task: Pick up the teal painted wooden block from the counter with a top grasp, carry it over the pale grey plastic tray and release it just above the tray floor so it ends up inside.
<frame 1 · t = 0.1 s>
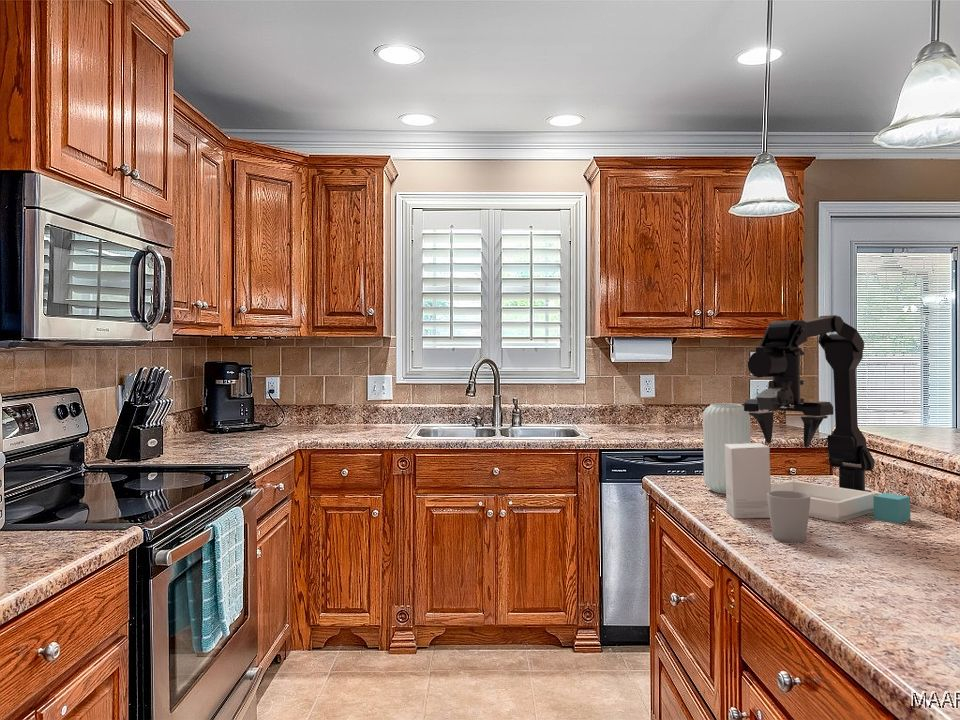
hand: (787, 444, 154), 15 cm above the worktop, tool pointing down, fingers open, 9 cm apart
skincare box: (748, 516, 150), on the worktop
grey tray: (813, 508, 155), on the worktop
cup: (789, 538, 132), on the worktop
teal block: (891, 519, 144), on the worktop
vase: (727, 491, 176), on the worktop
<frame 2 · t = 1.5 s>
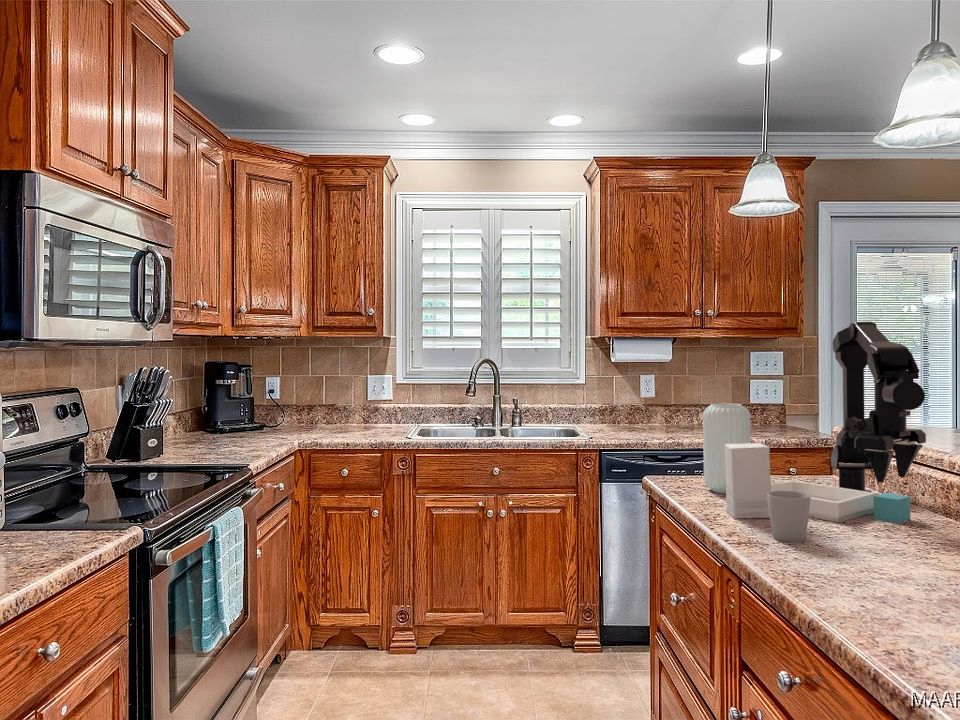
hand: (891, 479, 144), 8 cm above the worktop, tool pointing down, fingers open, 9 cm apart
nothing on the worktop moved.
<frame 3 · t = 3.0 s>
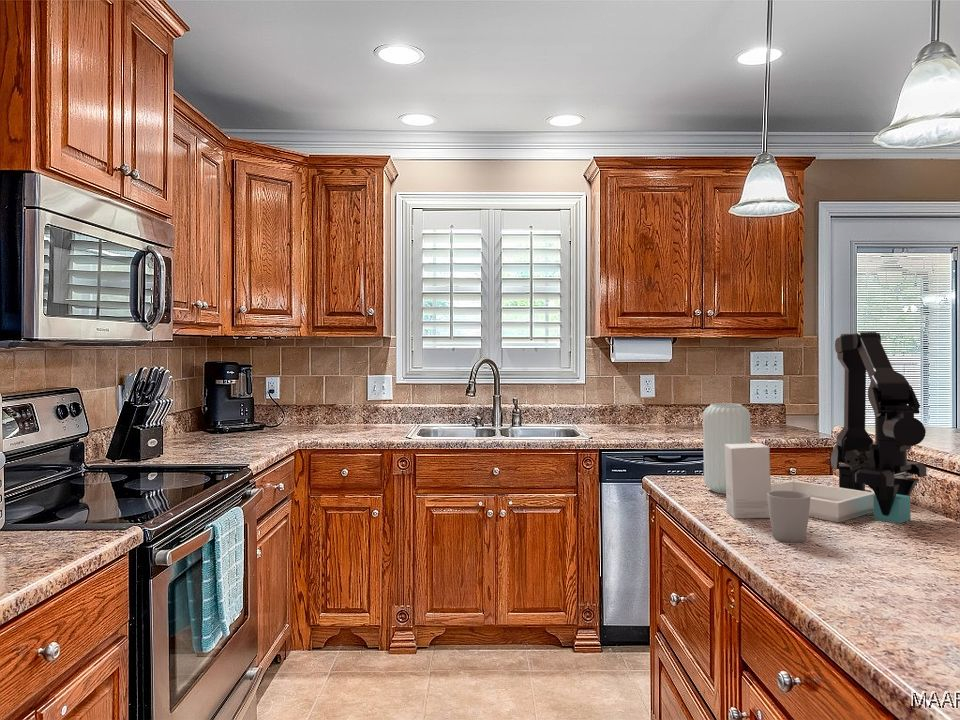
hand: (891, 513, 144), 1 cm above the worktop, tool pointing down, fingers closed on teal block, 5 cm apart
teal block: (892, 519, 144), on the worktop, touching gripper
everything else where it was.
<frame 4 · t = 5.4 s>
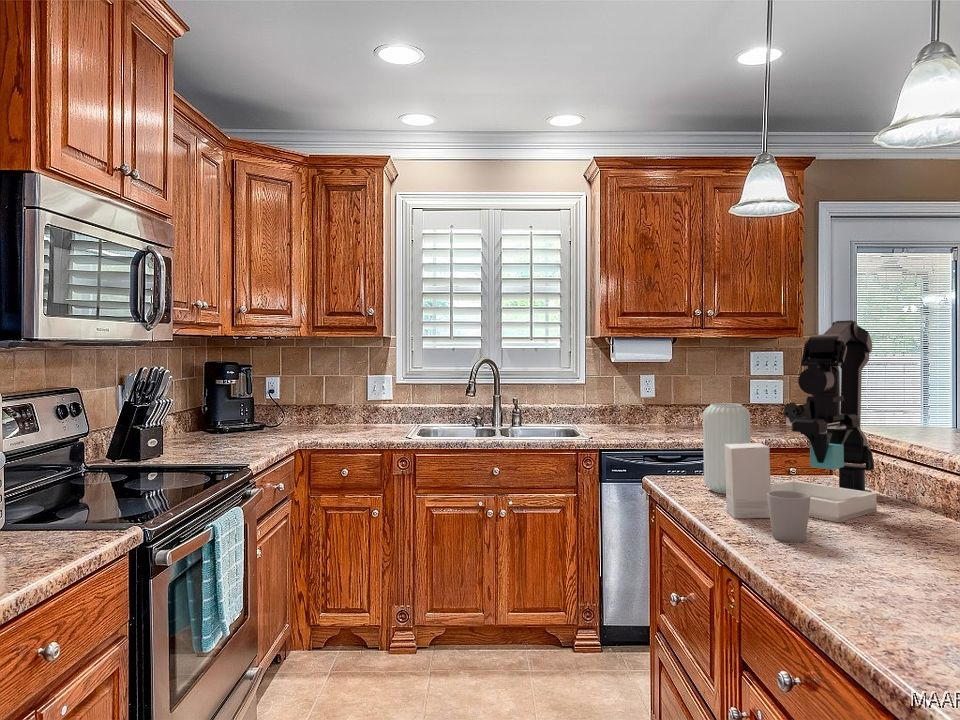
hand: (826, 461, 153), 11 cm above the worktop, tool pointing down, fingers closed on teal block, 5 cm apart
teal block: (827, 466, 153), point 10 cm above the worktop, touching gripper
everything else where it was.
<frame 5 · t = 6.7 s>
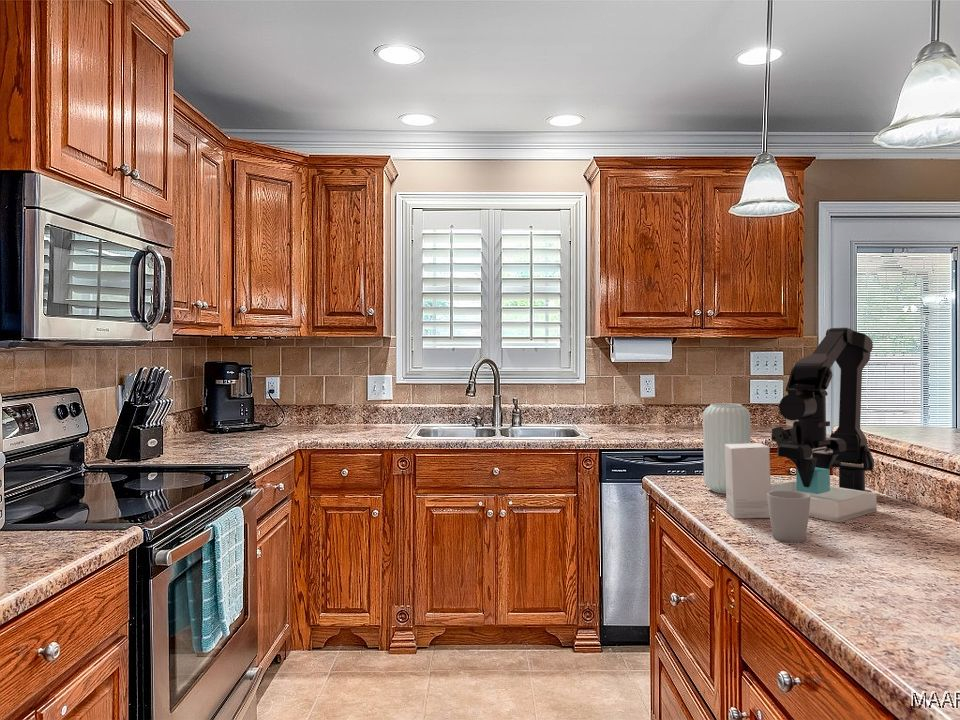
hand: (812, 485, 155), 5 cm above the worktop, tool pointing down, fingers closed on teal block, 5 cm apart
teal block: (813, 490, 155), point 4 cm above the worktop, touching gripper
everything else where it was.
when the fingers open (4 cm above the worktop, at t = 7.6 s): teal block drops 2 cm, resting on grey tray.
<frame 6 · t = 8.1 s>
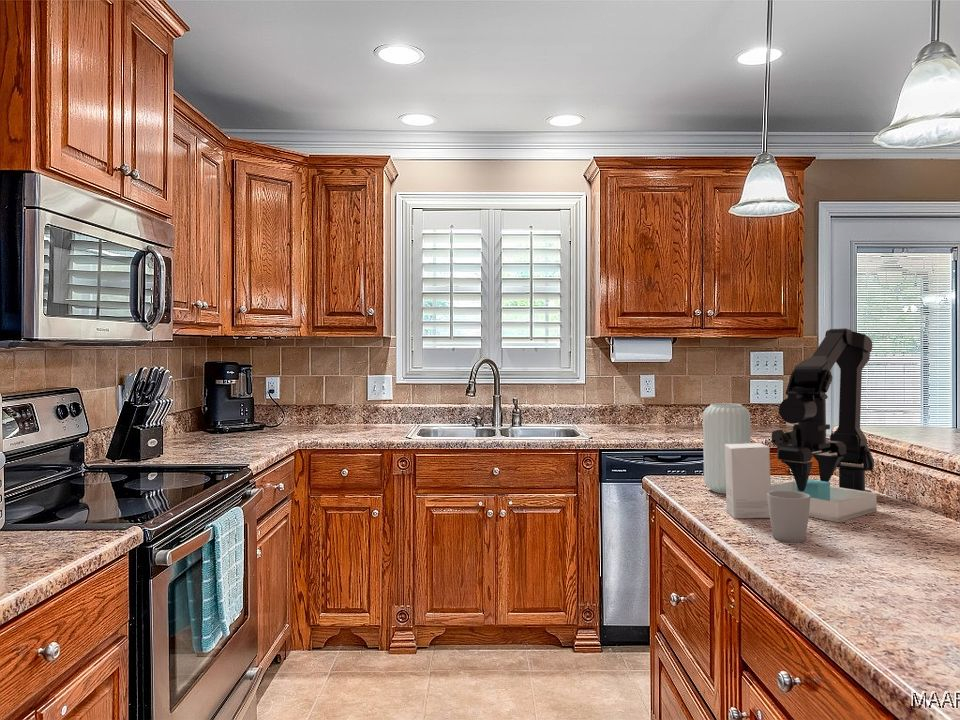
hand: (812, 488, 155), 4 cm above the worktop, tool pointing down, fingers open, 9 cm apart
teal block: (813, 503, 155), point 1 cm above the worktop, touching grey tray
everything else where it was.
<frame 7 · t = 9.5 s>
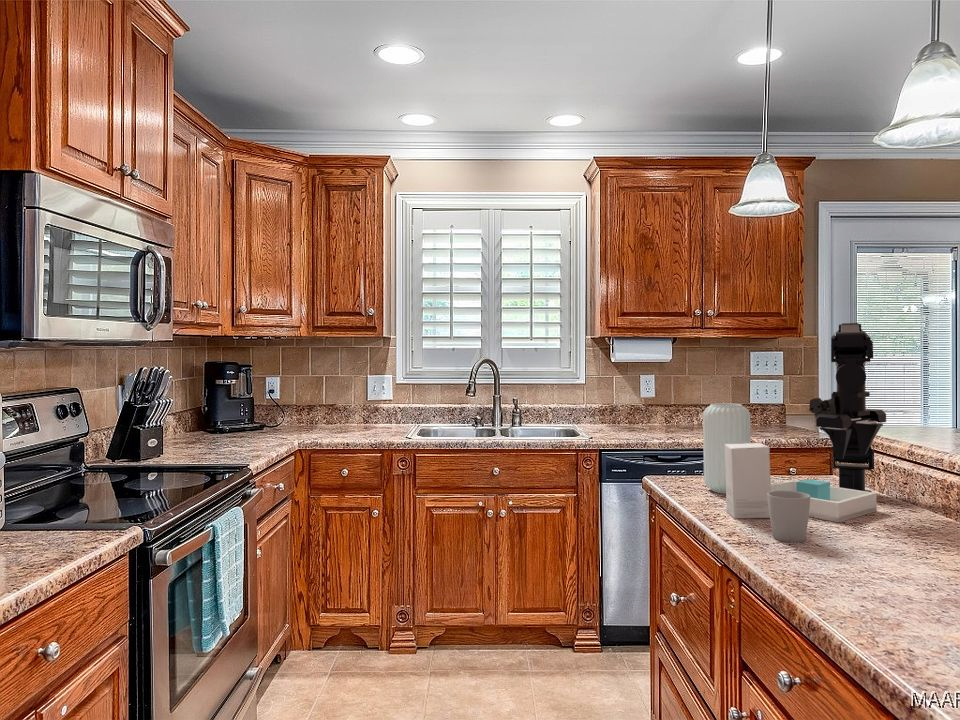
hand: (851, 456, 154), 12 cm above the worktop, tool pointing down, fingers open, 9 cm apart
nothing on the worktop moved.
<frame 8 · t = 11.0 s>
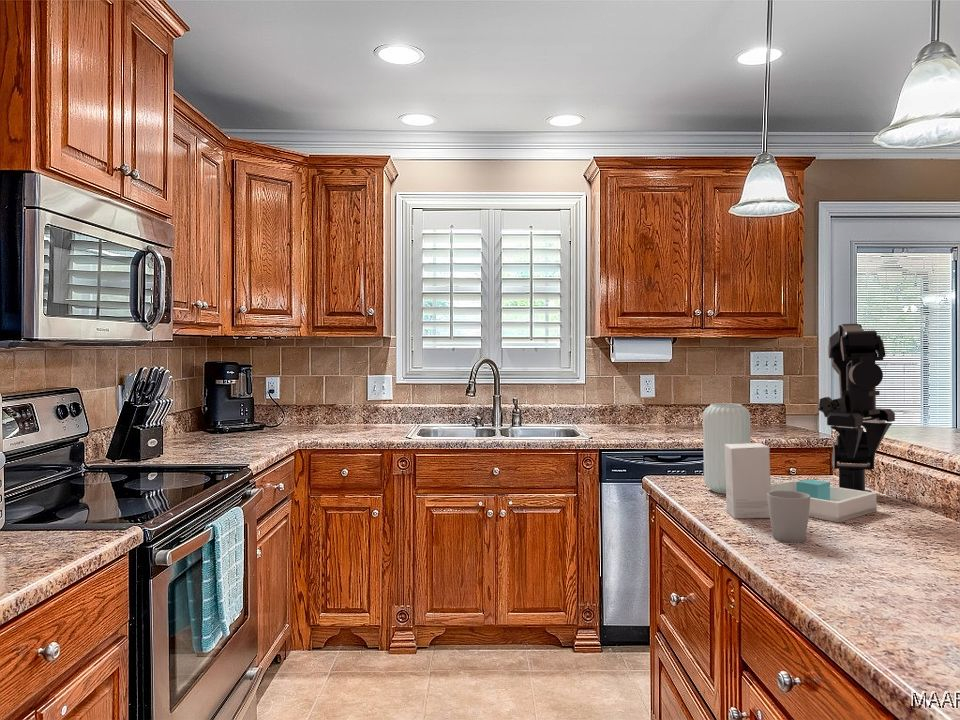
hand: (861, 455, 154), 12 cm above the worktop, tool pointing down, fingers open, 9 cm apart
nothing on the worktop moved.
at the end: teal block inside the target area on the grey tray (0.1 cm from its centre), point 1.0 cm above the grey tray's base; the gripper is holding nothing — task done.
